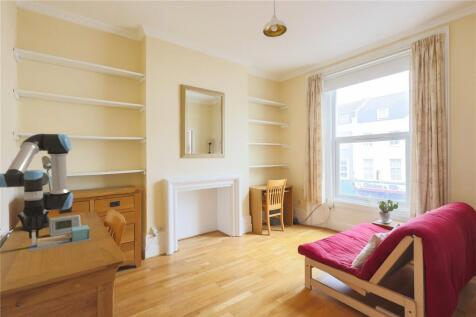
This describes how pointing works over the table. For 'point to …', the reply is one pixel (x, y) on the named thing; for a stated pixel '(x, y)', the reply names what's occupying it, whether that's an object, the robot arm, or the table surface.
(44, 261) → the table surface
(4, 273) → the table surface
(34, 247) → the mat
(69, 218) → the digital clock
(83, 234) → the end cap
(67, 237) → the slat
